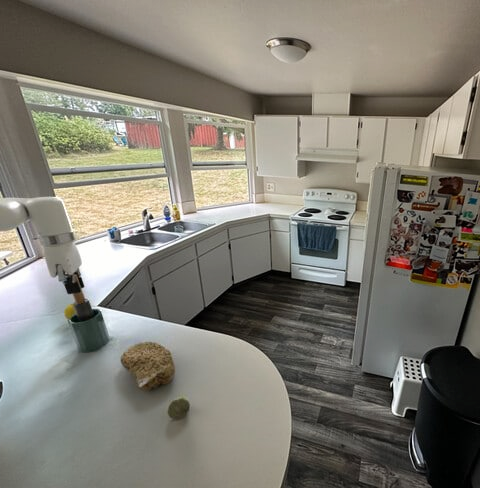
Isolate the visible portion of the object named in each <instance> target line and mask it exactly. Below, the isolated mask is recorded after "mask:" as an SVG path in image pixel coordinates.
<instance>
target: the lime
mask: <svg viewBox="0 0 480 488" xmlns="http://www.w3.org/2000/svg"><path fill="white" fill-rule="evenodd" d="M190 407H191V405H190V401H189V400H188V399H187V398H186V397H184V396H180V397H175V398H174V399H173V400H172V401H171V402H170V403H169V405H168V408H167V415H168V417H169V418H170V419H172V420H175V421H176V420H179V419H182V418H183V417H185V416H186V415H187V414H188V413H189V412H190Z"/></svg>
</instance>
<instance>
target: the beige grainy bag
mask: <svg viewBox="0 0 480 488" xmlns="http://www.w3.org/2000/svg"><path fill="white" fill-rule="evenodd" d="M120 363H121V366H122V367H123V368H124V369H125V370H126V371H127V372H129V373H130V374H131V375H133V377H135V382H136V386H137V388H139V390H140V391H146V392H147V391H150V390H151V389H155V388H157V387H160V385H165V384H166V385H167V384H170V383H171V381H172V380H173V377H174V375H175V373H176V365H175V363H174V359H173V356H172V353H171V350H169V349H167V348H165V346H163V345H161V344H160V343H158V342H153V341H144V342H138V343H135V344H134V345H131V346H130V347H129V348H128V349H126V350H125V351H124V352H123V353H122V355H120Z"/></svg>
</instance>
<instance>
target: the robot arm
mask: <svg viewBox="0 0 480 488" xmlns="http://www.w3.org/2000/svg"><path fill="white" fill-rule="evenodd" d="M27 222H31V223H32V225H33V228H34V230H35V233H36V236H37V238H38V240H39V243H40V246H41V247H42V250H43V256H44V260H45V264H46V266H47V270H48V273H49V276H50V277H51V278H52V279H53V278H57V277H58V278H57V279H58V282H59V283H62V285H63V286H64V289H65V291H66V294H67V295H73V294H74V293H80V292H81V289H84V288H85V283H84V281H83V278H82V273H81V270H80V267H81V266H82V262H83V261H82V258H81V257H82V256H81V254H80V252H79V249H78V247H77V244H76V241H77V238H76V235H75V233H74V229H73V226H72V224H71V220H70V218H69V215H68V212H67V209H66V206H65V203H64V201H63V199H61V198H60V197H58V196H39V197H32V198H30V197H29V198H28V197H0V233H1V232H9V231H13V230H15V229H17V228H18V227H20V226H21V225H22V224H25V223H27ZM74 274H76V275H77V277H78V280H79V283H80V286H81V289H80V286H79V283H78V281H76V279H75V276H74ZM66 276H70V277H71V278H70V277H66Z"/></svg>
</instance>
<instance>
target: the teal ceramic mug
mask: <svg viewBox="0 0 480 488" xmlns="http://www.w3.org/2000/svg"><path fill="white" fill-rule="evenodd" d="M92 310H93V313H94V316H93V317H91V318H89V319H87V320H82V321H81V320H78V317H77V315H76V314H74V315H73V316H71V317H70V318H69V319H67V324H68V326H69V329H70V330H71V333H72V336H73V339H74V342H75V344H76V346H77V349H78V351H79V353H91V352H95V351H98V350H99V349H101V348H103V347H105V346H106V345H107V344H108V343H109V342H110V339H111V337H110V335H109V332H108V328H107V325H106V322H105V319H104V316H103V313H102V310H101V309H99V308H92Z"/></svg>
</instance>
